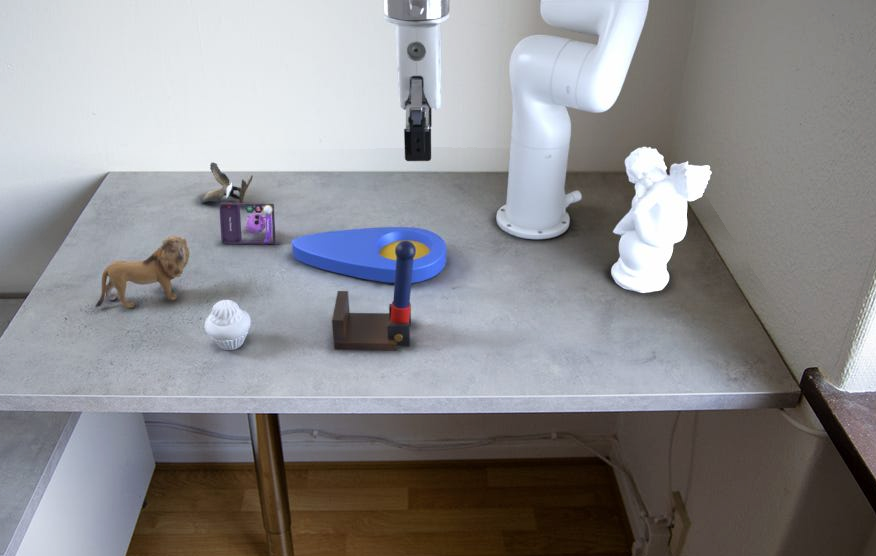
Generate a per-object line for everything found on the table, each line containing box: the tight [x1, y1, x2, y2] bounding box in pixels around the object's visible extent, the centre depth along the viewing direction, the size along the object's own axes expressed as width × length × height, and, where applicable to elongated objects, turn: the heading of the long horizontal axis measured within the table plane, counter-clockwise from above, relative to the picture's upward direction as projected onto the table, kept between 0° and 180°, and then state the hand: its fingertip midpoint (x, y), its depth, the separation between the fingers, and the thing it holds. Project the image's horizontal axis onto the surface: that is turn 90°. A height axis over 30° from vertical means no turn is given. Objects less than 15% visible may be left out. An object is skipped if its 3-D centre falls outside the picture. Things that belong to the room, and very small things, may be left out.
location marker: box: [291, 226, 447, 284], centre depth 123 cm, size 13×3×25 cm
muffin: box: [204, 299, 252, 351], centre depth 105 cm, size 6×6×7 cm
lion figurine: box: [95, 235, 190, 309], centre depth 113 cm, size 15×5×9 cm, turn 116°
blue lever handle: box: [390, 241, 416, 323], centre depth 103 cm, size 14×3×3 cm
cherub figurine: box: [610, 146, 713, 294], centre depth 113 cm, size 12×12×22 cm
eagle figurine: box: [199, 162, 254, 204], centre depth 139 cm, size 8×7×9 cm
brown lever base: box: [331, 290, 412, 351], centre depth 107 cm, size 10×7×5 cm
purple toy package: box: [218, 202, 277, 245], centre depth 129 cm, size 7×5×9 cm
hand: (418, 143), depth 98 cm, fingers open, 9 cm apart
